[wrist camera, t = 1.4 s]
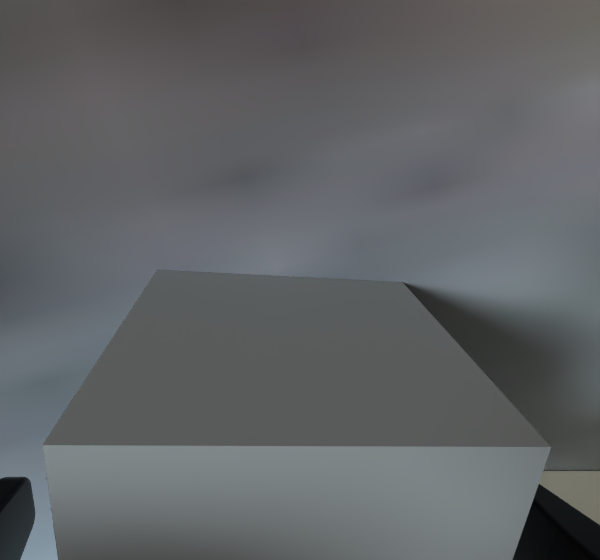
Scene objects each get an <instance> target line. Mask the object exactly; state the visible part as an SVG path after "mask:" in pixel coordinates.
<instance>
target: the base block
mask: <svg viewBox="0 0 600 560" xmlns="http://www.w3.org/2000/svg"><path fill="white" fill-rule="evenodd" d="M539 484H540V485H542V486H543V487H545V488H546V489H548V490H549V491H551V492H552V493H554V494H555V495H557V496H558V497H559V498H561V499H562V500H564V501H565V502H567V503H568V504H570V505H571V506H573V507H574V508H576V509H577V510H579V511H580V512H582V513H583V514H584V515H586V516H587V517H589V518H590V519H592V520H593V521H595V522H596V523H598V524H599V525H600V471H543V473H542V476H541V479H540V482H539Z"/></svg>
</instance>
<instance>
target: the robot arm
mask: <svg viewBox="0 0 600 560" xmlns="http://www.w3.org/2000/svg"><path fill="white" fill-rule="evenodd" d="M34 520H35V507H34V500H33V494H32V487H31V482H30V480H29V479H28V478H26V477H4V478H2V479H0V560H20V559H21V556H22V554H23V551H24V548H25V546H26V543H27V540H28V538H29V535H30V533H31V530H32V527H33V524H34ZM512 560H600V525H599V524H598V523H596V522H595V521H593V520H592V519H590V518H589V517H587V516H586V515H584V514H583V513H582V512H580V511H579V510H577V509H576V508H574V507H573V506H571V505H570V504H568V503H567V502H565V501H564V500H562V499H561V498H559V497H558V496H557V495H555V494H554V493H552V492H551V491H549V490H548V489H546V488H545V487H543V486H542V485H540V484H539V485H538V488H537V490H536V493H535V496H534V499H533V502H532V505H531V508H530V511H529V513H528V516H527V519H526V522H525V525H524V528H523V531H522V534H521V536H520V539H519V542H518V545H517V548H516V551H515V554H514V557H513V559H512Z"/></svg>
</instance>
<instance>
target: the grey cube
mask: <svg viewBox="0 0 600 560" xmlns="http://www.w3.org/2000/svg"><path fill="white" fill-rule="evenodd" d="M42 446H43V454H44V461H45V468H46V475H47V483H48V490H49V497H50V504H51V511H52V519H53V526H54V533H55V540H56V548H57V555H58V560H512V559H513V557H514V554H515V551H516V548H517V545H518V542H519V539H520V536H521V534H522V531H523V528H524V525H525V522H526V519H527V516H528V513H529V511H530V508H531V505H532V502H533V499H534V496H535V493H536V490H537V488H538V485H539V482H540V479H541V476H542V473H543V470H544V468H545V465H546V462H547V459H548V456H549V453H550V450H551V446H550V445H549V444H548V443H547V441H546V440H545V439H544V438H543V437H542V436H541V435H540V434H539V433H538V431H537V430H536V429H535V428H534V427H533V426H532V425H531V424H530V423H529V422H528V420H527V419H526V418H525V417H524V416H523V415H522V414H521V413H520V412H519V410H518V409H517V408H516V407H515V406H514V405H513V404H512V403H511V402H510V401H509V399H508V398H507V397H506V396H505V395H504V394H503V393H502V392H501V391H500V389H499V388H498V387H497V386H496V385H495V384H494V383H493V382H492V381H491V380H490V378H489V377H488V376H487V375H486V374H485V373H484V372H483V371H482V370H481V368H480V367H479V366H478V365H477V364H476V363H475V362H474V361H473V360H472V359H471V357H470V356H469V355H468V354H467V353H466V352H465V351H464V350H463V349H462V347H461V346H460V345H459V344H458V343H457V342H456V341H455V340H454V339H453V338H452V336H451V335H450V334H449V333H448V332H447V331H446V330H445V329H444V328H443V326H442V325H441V324H440V323H439V322H438V321H437V320H436V319H435V318H434V317H433V315H432V314H431V313H430V312H429V311H428V310H427V309H426V308H425V307H424V305H423V304H422V303H421V302H420V301H419V300H418V299H417V298H416V297H415V295H414V294H413V293H412V292H411V291H410V290H409V289H408V288H407V287H406V286H405V284H404V283H403V282H388V281H369V280H349V279H329V278H309V277H290V276H270V275H250V274H230V273H211V272H191V271H171V270H157V271H156V272H155V274H154V275H153V277H152V279H151V280H150V282H149V283H148V285H147V286H146V288H145V289H144V291H143V292H142V294H141V295H140V297H139V298H138V300H137V301H136V303H135V304H134V306H133V308H132V309H131V311H130V312H129V314H128V315H127V317H126V318H125V320H124V321H123V323H122V324H121V326H120V327H119V329H118V330H117V332H116V334H115V335H114V337H113V338H112V340H111V341H110V343H109V344H108V346H107V347H106V349H105V350H104V352H103V353H102V355H101V356H100V358H99V359H98V361H97V363H96V364H95V366H94V367H93V369H92V370H91V372H90V373H89V375H88V376H87V378H86V379H85V381H84V382H83V384H82V385H81V387H80V389H79V390H78V392H77V393H76V395H75V396H74V398H73V399H72V401H71V402H70V404H69V405H68V407H67V408H66V410H65V411H64V413H63V414H62V416H61V418H60V419H59V421H58V422H57V424H56V425H55V427H54V428H53V430H52V431H51V433H50V434H49V436H48V437H47V439H46V440H45V442H44V444H43V445H42Z"/></svg>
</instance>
